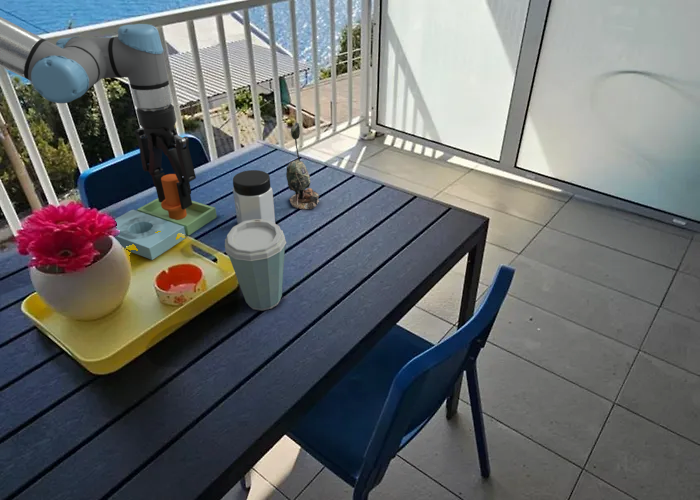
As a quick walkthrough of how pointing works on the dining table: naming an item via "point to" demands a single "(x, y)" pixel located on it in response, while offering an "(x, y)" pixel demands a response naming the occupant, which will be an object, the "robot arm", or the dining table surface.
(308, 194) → the plant with pod
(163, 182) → the plug
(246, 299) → the disposable coffee cup
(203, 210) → the tray
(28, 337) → the dining table surface
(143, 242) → the plate
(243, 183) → the jar
